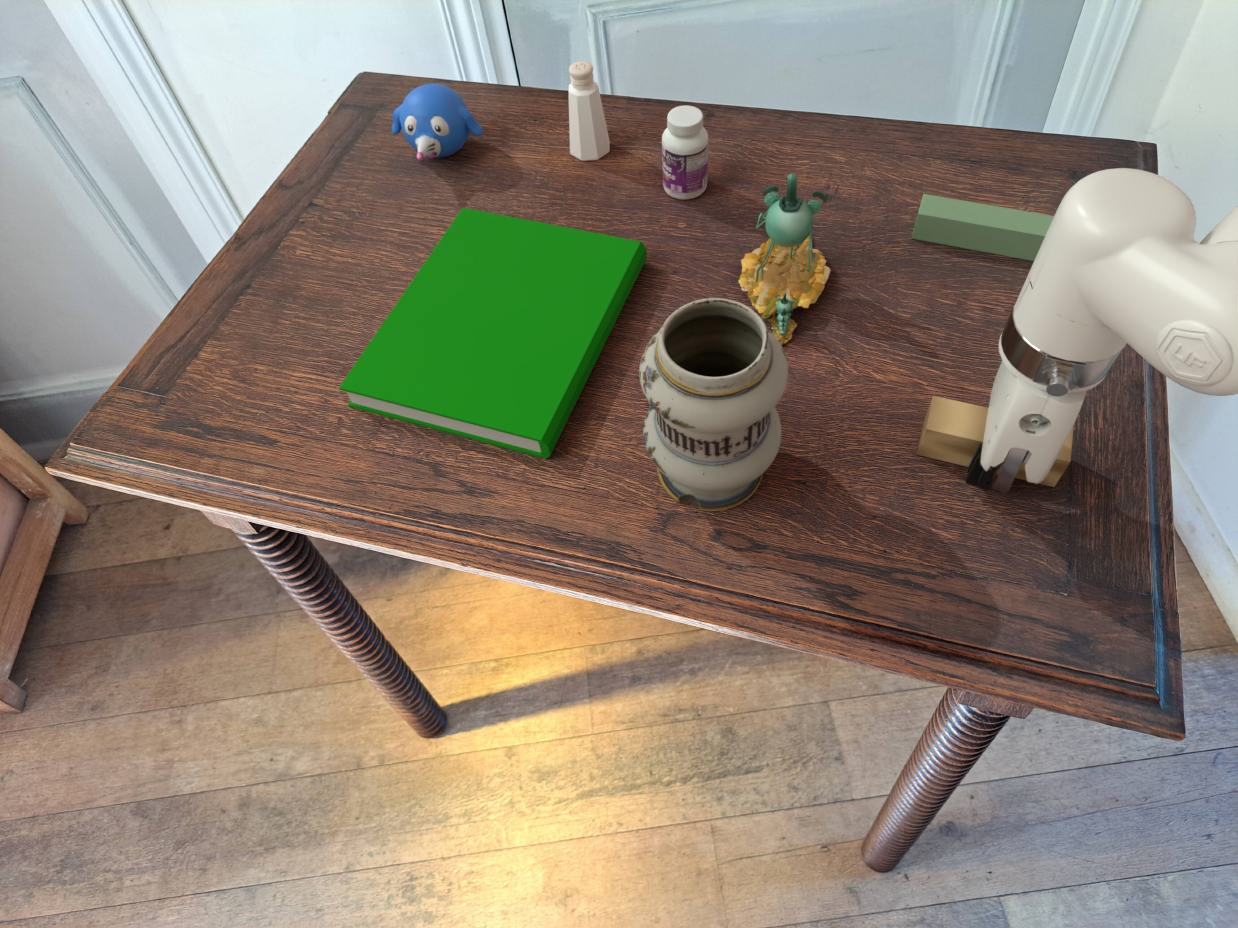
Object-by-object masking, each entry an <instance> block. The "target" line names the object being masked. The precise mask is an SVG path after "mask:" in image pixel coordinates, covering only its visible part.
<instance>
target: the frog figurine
mask: <svg viewBox="0 0 1238 928" xmlns="http://www.w3.org/2000/svg"><path fill="white" fill-rule="evenodd" d="M797 188H798V175H796V174H795V173H789V174H787V179H786V194H785V195H782V196H780V194H779V193H778V192H779V187H778V186H775V185H770V186H768V187H766V188H764V190H763V191H762V196H765V197H764V200H763V202H764V204H765V206H767V207H769V208H768V209H767V210H766V212H765V213H763V212H760V213H759V215H758V218H757V219H758V220H757V222H756V223H757V224H756V226H755V229H759V227H761V226H762V225H763V224H765V231H766V234H767V236H768V237H769V238H768V240H767V241H766V242H762V243H761V244H760V246H759V247H758V248H757V247H756V248H755V249H754V250H752V252H747V253H745V254H744V257H743V258H742V259H741V260H740V263H741V264H740V265H741V267H742V268H741V273H740V275H739V279H738V284H739V286H740V288H741V291H742V292H746V293H747V294H745V296H746V297H747V298H748V299H749V301H750V303H751V306H752V307H754V309H755V310H756V311H757V312H758V313H759V315H760V314H761V318H762V319H767V321H768V322H770V324H769V325H770V327H771V330H772V333H773V334H774V336H775V337H776V338H777V339H778V341H779V342H780V344H781V346H783V345H784V344H787V343H788V342H790V340H792V339H793V333H794V330H795V329H796V328H797V327H798V323H797V322H796V321H795V319H792V318H791V315H792V314H793V312H794V309H797V308H798V307H800V308H801V307H802V308H804V309H809V307H810V305H813V304H815V303H816V302H817V301H818V299H819V297H820V295H821V294H822V292H823V291H824V289H825V286H826V285H825V284H826V283H827V281H828V279H829V277H830V273H831V268H830V267H829V266H827V265H826V263H827V260H826V259H825V258H826V257H825V255H823V252H822V251H820V250H819V249H818V248H813V227H814V215H816V214H818V213H819V212H820V210H821V208H822V207H821V206H822V202H821V201H819V200H818V199H811V200H809V201H808V203H807V202H806V201H805V200H804V199H803V198H801V196H798V195H797V192H798V191H797V190H798V189H797ZM779 196H780V197H779ZM811 196H812V197H813V198H815V197H816V198H817V197H818V198H820V199H821V200H822V201H823V202H824V204H826V203H827V201H828V198H827V197H826V195H825V194H824V193H823V192H822V191H819V190H817V191H813V192H812V195H811ZM762 219H764V220H762ZM761 220H762V221H761ZM776 314H777V315H776ZM771 316H772V317H771ZM770 317H771V318H770Z"/></svg>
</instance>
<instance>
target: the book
mask: <svg viewBox="0 0 1238 928" xmlns="http://www.w3.org/2000/svg"><path fill="white" fill-rule="evenodd" d="M646 261H647V246H646V245H645V244H643V242H642V241H639V240H636V239H635V240H634V239H629V238H624V237H618V236H615V235H614V236H613V235H609V234H603V233H598V232H593V231H587V230H583V229H576V228H572V227H566V226H563V225H556V224H550V223H545V222H540V221H535V220H529V219H524V218H519V217H514V216H509V215H503V214H498V213H492V212H487V211H482V210H478V209H473V208H467V207H462V208H461V209H460V211H459V212H458V213H457V215H456V217H455V218H454V220H452V223H451V224H450V225H449V227H448V228H447V230H446V231H445V232H444V234H443V235H442V237H441V238H440V240H439V241H438V243H437V244H436V246H435V247H434V249H433V250H432V251H431V253H429V256H428V257H427V259H426V260H425V261H424V263H423V265H422V266H421V267H420V269H419V270H418V272H417V273H416V275H415V276H414V278H413V279H412V281H411V282H410V283H409V284H408V286H407V288H406V289H405V290H404V292H403V293H402V295H401V297H400V298H399V300H398V301H397V302H396V304H395V305H394V307H393V308H392V310H391V311H390V312H389V313H388V315H387V317H386V319H385V320H384V321H383V322H382V324H381V326H380V327H379V328H378V330H377V332H376V333H375V334H374V335H373V337H372V338H371V340H370V341H369V343H368V345H366V347H365V349H364V351H362V353H361V355H360V356H359V358H358V359H357V360H356V362H355V363H354V365H353V366H352V368H351V369H350V370H349V372H348V373H347V375H346V377H345V378H344V380H343V381H342V382H341V384H340V386H339V387H338V389H339V391H342V392H346V394H347V396H348V397H349V399H350V400H349V402H348V404H347V406H348V407H349V408H353V409H356V410H360V411H364V412H367V413H371V414H375V415H379V416H383V417H387V418H391V419H393V420H398V421H402V422H405V423H409V424H414V425H417V426H420V427H424V428H429V429H433V430H436V431H439V432H443V433H446V434H452V435H455V436H458V437H461V438H462V437H463V438H466V439H470V440H473V441H478V442H481V443H484V444H488V445H492V446H495V447H500V448H503V449H507V450H511V451H514V452H519V453H522V454H527V455H530V456H534V457H538V458H540V459H541V458H542V459H544V460H546V459H547V458H549V457H551V455H552V453H553V451H554V448H555V447H556V445H557V443H558V441H559V439H560V436H561V434H562V432H563V430H564V428H565V426H566V424H567V422H568V421H569V418H570V417H571V414H572V412H573V410H574V408H575V406H576V404H577V402H578V400H579V398H580V396H581V394H582V391H583V390H584V388H585V385H586V383H587V382H588V379H589V378H590V375H591V373H592V371H593V369H594V367H595V365H596V363H597V361H598V359H599V357H600V355H601V353H602V351H603V348H604V347H605V345H606V343H607V341H608V339H609V336H610V334H611V332H612V331H613V328H614V326H615V324H616V322H617V320H618V319H619V316H620V314H621V312H622V310H623V308H624V306H625V304H626V301H627V299H628V298H629V296H630V293H631V291H632V289H633V288H634V286H635V283H636V281H637V279H638V277H639V275H640V273H641V271H642V269H643V267H644V265H645V263H646Z"/></svg>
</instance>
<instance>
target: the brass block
mask: <svg viewBox="0 0 1238 928" xmlns="http://www.w3.org/2000/svg"><path fill="white" fill-rule="evenodd" d="M988 408H989V407H987V406H983V405H978V404H974V403H969V402H965V401H960V400H956V399H955V400H954V399H950V398H945V397H941V396H937V395H932V397H931V400H930V403H929V405H928V408H927V410H926V413H925V416H924V418H923V422H922V425H921V430H920V434H919V439H918V445H917V450H916V455H917V456H921V457H925V458H930V459H934V460H938V461H941V462H946V463H950V464H954V465H959V466H963V467H966V468H968V467H969V465H970V463H971V461H972V458H973V456H974V454H975V452H976V450H977V448H978V446H979V444H983V439H984V432H985V426H986V420H987V414H988ZM1074 430H1075V429H1074V425H1073V427H1072V430H1071V432H1070V434H1069V436H1068V438H1067V440H1066V441H1065V443H1064V445H1063V447H1062V449H1061V451H1060V453H1059V455H1058V456H1057V458H1056V460H1055V462H1054V464H1053V466H1052V467H1051V469H1050V471H1049V473H1048V475H1047V476H1046V478H1045V479H1044V480H1043V481H1042V482H1040V483H1038V485H1043V486H1048V487H1052V488H1055V487H1056V485H1057V484H1058V482H1059V480H1060V479H1061V478H1062V476H1063V475H1064V473H1065V471H1066V470H1067V468H1068V467H1069V465H1070V464H1071V461H1072V450H1073V438H1074ZM1025 464H1026V463H1023V462H1022V464H1021V466H1020V468H1019V470H1018V473H1017V475H1016V477H1015V479H1018V480H1022V481H1026V482H1027V478H1026V471H1025Z"/></svg>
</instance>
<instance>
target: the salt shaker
mask: <svg viewBox="0 0 1238 928" xmlns="http://www.w3.org/2000/svg"><path fill="white" fill-rule="evenodd" d="M593 71H594V66H593V64H592V63H591V62H588V61H585V60H581V61H576V62H573V63H572V64H571V65H570V66H569V68H568V72H569V75H570V81H571V83H570V84H568V128H569V130H568V131H569V133H568V134H569V155H571V156H572V157H573V158H576V159H577V160H579V161H581V162H588V161H589V162H590V161H598V160H600V159H601V158H603V157H604V156H605V155H607V154H608V153H610V150H611V149H610V148H611V147H610V137H609V132H608V126H607V121H606V117H605V113H604V112H605V111H604V107H603V102H602V98H601V97H602V96H601V92H600V87H599V85H598V82H596V81H594V73H593Z"/></svg>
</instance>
